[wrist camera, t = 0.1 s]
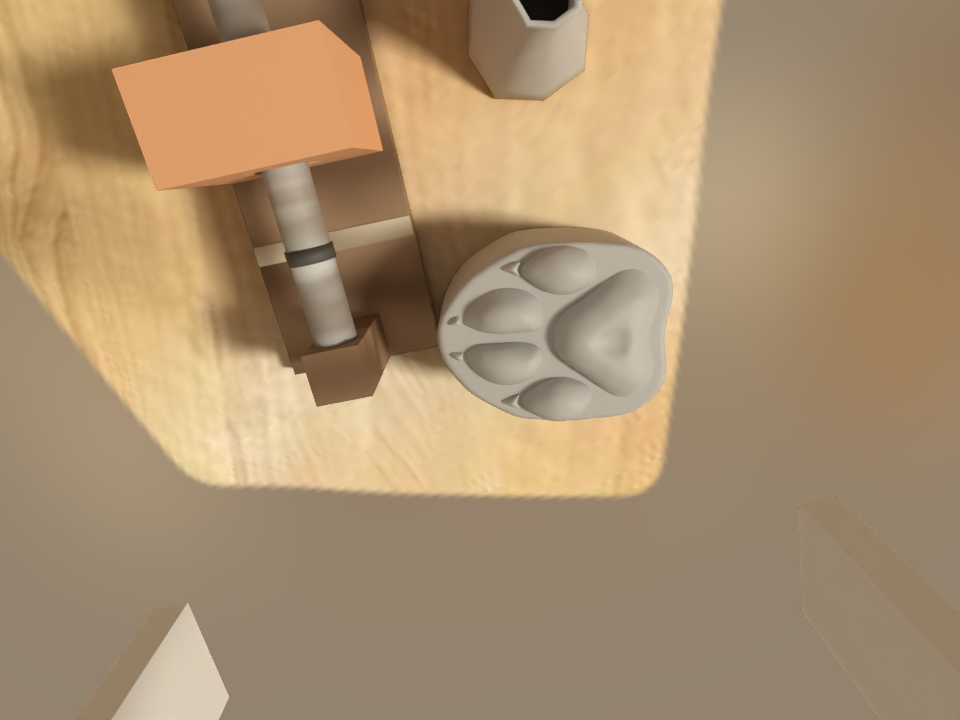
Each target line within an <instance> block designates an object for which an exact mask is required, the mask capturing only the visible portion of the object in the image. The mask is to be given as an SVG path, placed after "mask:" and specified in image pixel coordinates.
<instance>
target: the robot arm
mask: <svg viewBox="0 0 960 720" xmlns="http://www.w3.org/2000/svg"><path fill="white" fill-rule="evenodd" d="M798 507H799V508H798V509H799V564H800V609H801V611H802V612H803V613H804V615H805V616H806V618H807V619H808V621H809V622H810V623H811V625H812V626H813V628H814V629H815V630H816V632H817V633H818V634H819V636H820V637H821V639H822V640H823V641H824V643H825V644H826V646H827V647H828V648H829V649H830V651H831V652H832V654H833V655H834V656H835V658H836V659H837V661H838V662H839V664H840V665H841V666H842V668H843V669H844V671H845V672H846V673H847V675H848V676H849V678H850V679H851V680H852V682H853V683H854V684H855V686H856V687H857V689H858V690H859V691H860V693H861V694H862V696H863V697H864V698H865V700H866V701H867V702H868V704H869V705H870V707H871V708H872V709H873V711H874V712H875V714H876V715H877V716H878V718H879V719H880V720H960V611H958V610H957V609H956V608H955V607H954V606H953V605H952V604H951V603H950V602H949V601H948V600H947V599H946V598H945V597H944V596H942V595H941V594H940V593H939V592H938V591H937V590H936V589H935V588H934V587H933V586H932V585H931V584H930V583H929V582H927V581H926V580H925V579H924V578H923V577H922V576H921V575H920V574H919V573H918V572H917V571H916V570H915V569H914V568H913V567H911V566H910V565H909V564H908V563H907V562H906V561H905V560H904V559H903V558H902V557H901V556H900V555H899V554H898V553H897V552H895V551H894V550H893V549H892V548H891V547H890V546H889V545H888V544H887V543H886V542H884V541H883V539H882V538H880V537H879V536H878V535H877V534H876V533H875V532H874V531H873V530H872V529H871V528H870V527H869V526H867V525H866V524H865V523H864V522H863V521H862V520H861V519H860V518H859V517H858V516H857V515H856V514H855V513H854V512H852V511H851V509H849V508H848V507H847V506H846V505H845V504H844V503H843V502H842V501H841V500H840V499H839V498H838V497H837V496H835V497H829V498H823V499H817V500H810V501H804V502H799V504H798ZM228 698H229V696H228V694H227V691H226V689H225V687H224V685H223V682H222V680H221V678H220V675H219V673H218V671H217V669H216V666H215V664H214V662H213V660H212V657H211V655H210V653H209V650H208V648H207V646H206V643H205V641H204V639H203V637H202V634H201V632H200V630H199V628H198V625H197V623H196V621H195V618H194V616H193V614H192V611H191V609H190V607H189V605H188V603H184V604H178V605H171V606H165V607H159V608H154V609H153V611H152V612H151V614H150V615H149V616H148V618H147V619H146V620H145V622H144V623H143V625H142V626H141V628H140V629H139V630H138V632H137V633H136V635H135V636H134V637H133V639H132V640H131V642H130V643H129V644H128V645H127V647H126V648H125V650H124V651H123V653H122V654H121V655H120V657H119V658H118V659H117V661H116V662H115V664H114V665H113V666H112V668H111V669H110V671H109V672H108V673H107V675H106V676H105V678H104V679H103V681H102V682H101V683H100V684H99V686H98V687H97V689H96V690H95V691H94V693H93V694H92V696H91V697H90V698H89V700H88V701H87V702H86V704H85V705H84V707H83V708H82V709H81V711H80V712H79V714H78V715H77V716H76V718H75V719H74V720H219V718H220V715H221V713H222V711H223V709H224V707H225V705H226V702H227V700H228Z"/></svg>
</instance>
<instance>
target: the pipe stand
mask: <svg viewBox="0 0 960 720" xmlns="http://www.w3.org/2000/svg"><path fill="white" fill-rule="evenodd" d="M172 1H173V4H174V7H175V10H176V13H177V16H178V19H179V22H180V25H181V28H182V31H183V34H184V37H185V40H186V43H187V46H188V49H189V50H194V49H198V48H202V47H206V46H210V45H215V44H219V43H223V42H227V41H232V40H236V39H240V38H244V37H249V36H253V35H257V34H261V33H266V32H270V31H274V30H278V29H283V28H287V27H291V26H295V25H300V24H304V23H308V22H312V21H317V20H319V21H320V22H322V23H323V24H324V25H325V26H326V27H327V28H328V29H329V30H331V31H332V32H333V33H334V34H335V35H336V36H337V37H338V38H340V39H341V40H342V41H343V42H344V43H345V44H346V45H347V46H349V47H350V48H351V49H352V50H353V51H354V52H355V53H356V54H358V55H359V56H360V57H361V62H362V66H363V70H364V74H365V78H366V82H367V86H368V90H369V94H370V98H371V103H372V107H373V111H374V115H375V119H376V123H377V127H378V131H379V135H380V140H381V144H382V148H383V151H380V152H376V153H371V154H366V155H362V156H357V157H353V158H348V159H344V160H339V161H335V162H330V163H326V164H321V165H316V166H312V167H309V164H308V162H302V163H298V164H293V165H289V166H284V167H279V168H275V169H270V170H266V171H261V174H262V178H257V179H253V180H248V181H244V182H239V183H234V184H233V187H234V190H235V193H236V196H237V199H238V202H239V205H240V208H241V211H242V214H243V217H244V220H245V223H246V226H247V229H248V232H249V235H250V238H251V241H252V244H253V250H254V253H255V256H256V259H257V262H258V265H259V267H260V269H261V272H262V275H263V278H264V281H265V284H266V287H267V290H268V293H269V296H270V299H271V302H272V305H273V308H274V312H275V315H276V318H277V321H278V324H279V327H280V330H281V333H282V336H283V339H284V342H285V345H286V348H287V351H288V354H289V357H290V360H291V363H292V366H293V369H294V372H295V375H296V374H301V373H306V374H307V378H308V381H309V384H310V387H311V390H312V393H313V396H314V399H315V402H316V406H317V407H318V406H323V405H328V404H333V403H339V402H344V401H349V400H354V399H359V398H364V397H369V396H373V394H374V392H375V390H376V387H377V385H378V383H379V380H380V378H381V376H382V374H383V371H384V369H385V367H386V365H387V362H388V360H389V358H390V356H392V355H397V354H402V353H407V352H412V351H417V350H422V349H427V348H432V347H437V346H438V340H437V330H438V324H437V320H436V316H435V312H434V307H433V303H432V299H431V295H430V291H429V286H428V282H427V278H426V274H425V269H424V265H423V261H422V257H421V253H420V248H419V244H418V240H417V236H416V231H415V227H414V223H413V219H412V215H411V210H410V206H409V202H408V198H407V193H406V189H405V185H404V181H403V177H402V172H401V168H400V164H399V160H398V155H397V151H396V147H395V143H394V139H393V134H392V130H391V126H390V122H389V117H388V113H387V109H386V105H385V101H384V96H383V92H382V88H381V84H380V79H379V75H378V71H377V67H376V63H375V58H374V54H373V50H372V46H371V41H370V37H369V33H368V29H367V25H366V20H365V16H364V12H363V8H362V3H361V0H172Z"/></svg>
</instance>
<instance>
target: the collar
mask: <svg viewBox="0 0 960 720" xmlns="http://www.w3.org/2000/svg"><path fill="white" fill-rule="evenodd" d="M112 72H113V75H114V78H115V80H116V83H117V86H118V88H119V91H120V94H121V96H122V99H123V102H124V105H125V107H126V110H127V113H128V115H129V118H130V121H131V123H132V126H133V129H134V132H135V134H136V137H137V140H138V142H139V145H140V148H141V151H142V153H143V156H144V159H145V161H146V164H147V167H148V169H149V172H150V175H151V178H152V180H153V183H154V186H155V188H156V191H160V190H170V189H181V188H191V187H202V186H212V185H223V184H234V183H239V182H244V181H248V180H253V179H257V178H262V174H261V171H266V170H270V169H275V168H279V167H284V166H289V165H293V164H298V163H302V162H308V164H309V167H312V166H316V165H321V164H326V163H330V162H335V161H339V160H344V159H348V158H353V157H357V156H362V155H366V154H371V153H376V152H380V151H383V148H382V144H381V140H380V135H379V131H378V127H377V123H376V119H375V115H374V111H373V107H372V103H371V98H370V94H369V90H368V86H367V82H366V78H365V74H364V70H363V66H362V62H361V57H360V56H359V55H358V54H356V53H355V52H354V51H353V50H352V49H351V48H350V47H349V46H347V45H346V44H345V43H344V42H343V41H342V40H341V39H340V38H338V37H337V36H336V35H335V34H334V33H333V32H332V31H331V30H329V29H328V28H327V27H326V26H325V25H324V24H323V23H322V22H320V21H319V20H317V21H312V22H308V23H304V24H300V25H295V26H291V27H287V28H283V29H278V30H274V31H270V32H266V33H261V34H257V35H253V36H249V37H244V38H240V39H236V40H232V41H227V42H223V43H219V44H215V45H210V46H206V47H202V48H198V49H194V50H189V51H185V52H181V53H177V54H172V55H168V56H164V57H160V58H155V59H151V60H147V61H143V62H138V63H134V64H130V65H126V66H121V67H117V68H113V69H112Z"/></svg>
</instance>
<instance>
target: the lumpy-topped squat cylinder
mask: <svg viewBox="0 0 960 720" xmlns="http://www.w3.org/2000/svg"><path fill="white" fill-rule="evenodd" d="M672 296H673V283H672V279H671V276H670V274H669V272H668V270H667V269H666V267H665V266H664V265H663V264H662V263H661V262H660V261H659V260H658V259H657V258H656V257H655V256H654V255H652V254H651V253H649V252H648V251H646V250H644V249H642V248H640V247H638V246H637V245H635V244H633V243H631V242H629V241H627V240H625V239H624V238H622V237H620V236H618V235H616V234H614V233H611V232H608V231H604V230H598V229H587V228H573V227H548V228H534V229H525V230H519V231H515V232H511V233H509V234H506V235H504V236H502V237H500V238H499V239H497V240H495V241H493V242H492V243H490V244H488V245H487V246H485V247H484V248H482V249H481V250H479V251H478V252H477V253H475V254H474V255H473V256H471V257H470V258H469V259H468V260H467V261H466V262H465V263H464V264H463V265H462V266H461V268H460V269H459V270H458V271H457V273H456V274H455V276H454V277H453V279H452V280H451V282H450V284H449V286H448V288H447V290H446V293H445V297H444V301H443V305H442V309H441V314H440V319H439V324H438V330H437V340H438V347H439V350H440V353H441V356H442V358H443V360H444V362H445V364H446V365H447V367H448V368H449V370H450V371H451V373H452V374H453V375H454V376H455V378H456V379H457V380H458V381H459V382H460V383H461V384H462V385H463V386H464V387H465V388H466V389H467V390H468V391H469V392H471V393H472V394H474V395H475V396H476V397H478V398H480V399H481V400H483V401H485V402H487V403H489V404H490V405H492V406H494V407H496V408H498V409H500V410H502V411H505V412H507V413H509V414H511V415H514V416H517V417H521V418H528V419H541V420H551V421H566V420H583V419H590V418H602V417H610V416H618V415H622V414H626V413H630V412H633V411H635V410H637V409H639V408H640V407H642V406H643V405H644V404H646V403H647V402H648V401H649V400H651V399H652V398H653V397H654V396H655V394H656V393H657V392H658V391H659V389H660V388H661V386H662V384H663V382H664V379H665V375H666V356H665V345H664V335H665V327H666V322H667V318H668V315H669V310H670V307H671V303H672Z"/></svg>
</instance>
